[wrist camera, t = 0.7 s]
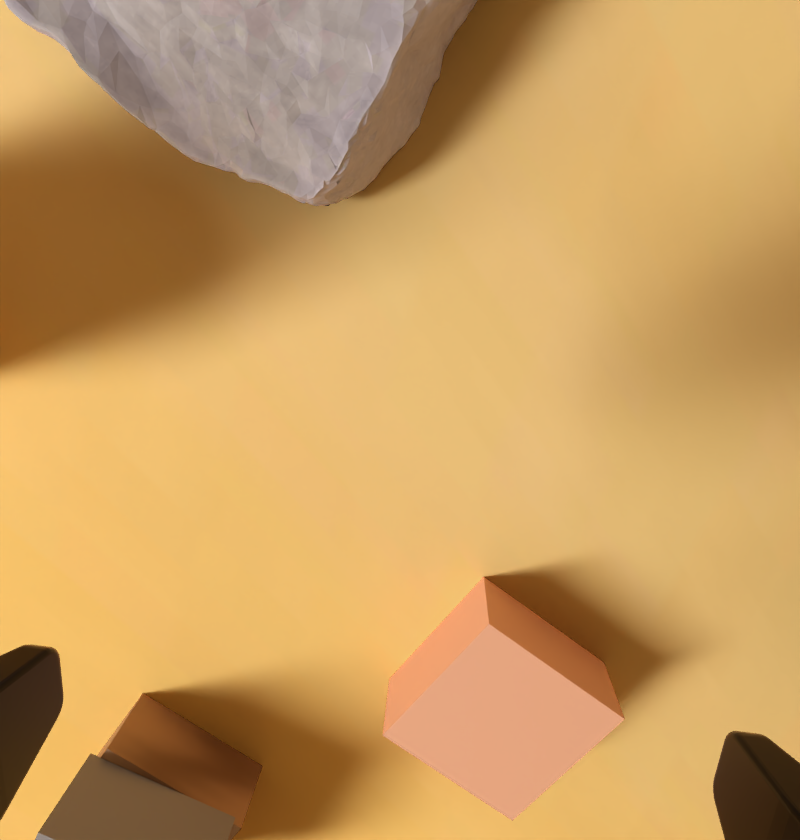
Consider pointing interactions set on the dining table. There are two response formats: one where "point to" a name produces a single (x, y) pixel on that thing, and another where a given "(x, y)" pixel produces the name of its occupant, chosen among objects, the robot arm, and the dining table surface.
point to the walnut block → (183, 759)
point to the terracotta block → (500, 701)
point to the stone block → (265, 78)
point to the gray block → (129, 809)
